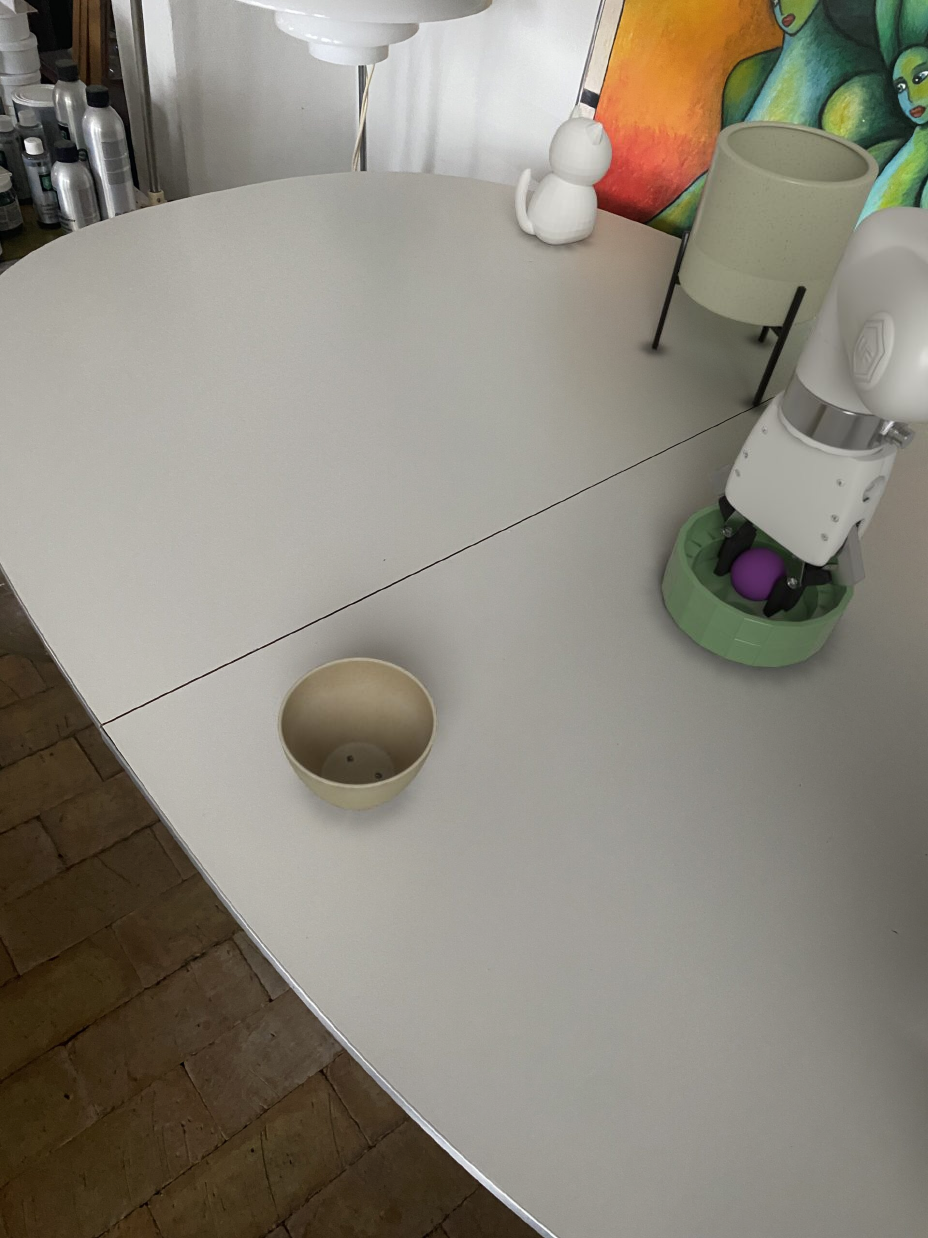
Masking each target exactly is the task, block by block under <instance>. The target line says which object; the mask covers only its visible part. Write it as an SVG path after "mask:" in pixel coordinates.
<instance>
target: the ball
mask: <svg viewBox="0 0 928 1238" xmlns="http://www.w3.org/2000/svg"><path fill="white" fill-rule="evenodd" d="M786 575H787V571H786V566H785V564H784V562H783V560H782V559H781V557H780V556H779V555H778V554H776V553H775V552H773V551H771V550H769V549H766V548H752V549H749V550H746V551H744V552H743V553H741V554H740V555H739V556H738V557H737V558H736V559H735V561H734V562H733V564H732V567H731V571H730V579H731V583H732V585H733V587H734V589H735V591H736V592H737V593H738V594H739V595H740V596H742V597H743V598H745V599H748V600H751V601H765V600H768V599H769V597H770V595H771V593H772V591H773V589H774V587H775V585H776V583H777V582H778V581H779V580H780V579H781V578H783V577H785V576H786Z"/></svg>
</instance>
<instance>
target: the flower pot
mask: <svg viewBox="0 0 928 1238" xmlns="http://www.w3.org/2000/svg"><path fill="white" fill-rule="evenodd" d="M437 730H438V713H437V708H436V704H435V701H434V699H433V697H432V695H431V694H430V692H429V690H428V689H427V687H426V686H425V685H424V684H423V683H422V681H421V680H420V679H419V678H417V676H416V675H414V674H413V673H411V672H410V671H408V670H407V669H405V668H404V667H402V666H400V665H398V664H395V663H393V662H390V661H387V660H384V659H381V658H375V657H368V656H367V657H366V656H353V657H345V658H339V659H334V660H331V661H329V662H325V663H323V664H320V665H318V666H315V667H314V668H312V669H311V670H308V672H306V673H305V674H303V675H302V676H300V678H298V679H297V680H296V681H295V682H294V683H293V685H292V686H290V688H289V689H288V691H287V693H286V694H285V696H284V697H283V699H282V701H281V704H280V707H279V710H278V715H277V732H278V733H277V734H278V738H279V741H280V744H281V748H282V750H283V752H284V755H285V757H286V759H287V762H288V763H289V764H290V766H291V768H292V770H293V771H294V772H295V775H296V776H297V777H298V778H299V779H300V781H301V782H302V783H303V784H304V785H305V787H306V788H307V789H308V790H309V791H311V792H312V793H313V794H315V796H317V797H319V798H320V799H321V800H323V801H325V802H326V803H328V804H330V805H332V806H335V807H337V808H339V809H340V808H341V809H345V810H350V811H364V810H365V811H366V810H371V809H373V808H377V807H379V806H381V805H384V804H386V803H387V802H389V801H391V800H393V799H394V798H395V797H397V796H398V795H400V793H401V792H403V791H404V790H405V789H406V788H408V786H409V785H410V784H411V783H412V781H413V780H414V779H415V778H416V777H417V775H418V774H419V773H420V771H421V769H422V768H423V766H424V764H425V763H426V762H427V759H428V757H429V755H430V753H431V750H432V748H433V745H434V742H435V739H436V736H437Z"/></svg>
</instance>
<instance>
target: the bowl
mask: <svg viewBox="0 0 928 1238" xmlns="http://www.w3.org/2000/svg"><path fill="white" fill-rule="evenodd" d="M724 523H725V522H724V519H723V516H722V513H721V510H720V507H719V504H718V503H715V504H711V505H708V506H706V507H704V508H702V509H700V510H699V511H696V512H694V513H692V514H691V515H690V517H689V518H688V519H687V520H686V521H685V522H684V523H683V525H682V526H681V527H680V529H679V531H678V533H677V537H676V539H675V542H674V545H673V547H672V550H671V553H670V555H669V559H668V561H667V564H666V566H665V569H664V573H663V577H662V582H661V591H662V596H663V599H664V600H663V601H664V605H665V607H666V609H667V611H668V613H669V615H670V616H671V618H672V619H673V621H674V622H675V623H676V625H677V626H678V628H680V629H681V630H682V631H683V632H684V633H685V634H686V635H687V636H688V637H690V639H692V640H693V642H695V643H696V644H698V645H699V646H701V647H703V648H704V649H706V650H708V651H710V652H712V653H713V654H715V655H717V656H718V657H720V658H723V659H725V660H729V661H732V662H736V663H739V664H743V665H747V666H750V667H767V668H782V667H786V666H790V665H794V664H798V663H802V662H804V661H806V660H808V659H809V658H810V657H812V656H814V654H817V652H819V651H821V650H822V648H823V647H824V644H825V643H826V642H827V640H828V638H829V636H830V635H831V634H832V632H833V631H834V629H835V627H836V625H837V624H838V622H839V621H840V619H841V617H842V616H843V614H844V612H845V611H846V609H847V608H848V606H849V604H850V603H851V600H852V599H853V597H854V595H855V585H854V586H839V585H833V584H826V585H819V586H807V587H806V589H805V590H804V592H803V594H802V596H801V598H800V599H799V601H798V603H797V604H796V605H795V606H794V607H793V608H792V609H791V610H789V611H788V612H785V611H783V610H781V611H779V612H778V613H776V614H774V615H773V616H771V617H770V618H768V617H766V616H765V615H764V614H763V608H764V607H765V605H766V603H767V601H768V600H765V601H751V600H748V599H745V598H743V597H742V596H740V595H739V594H738V593H737V592H736V591H735V589H734V587H733V585H732V583H731V579H730V572H729V573H728V574H726V575H724V576H722V577H721V576H719V577H718V576H717V575H716V574H714V573H713V572H714V569H715V567H716V565H717V562H718V560H719V558H718V557H717V554H718V552H719V550H720V547H721V545H722V542H723V540H724V538H725V535H724V534H723V532H722V526H723V524H724ZM753 527H755V528H756V529H757V531H756V534H757V535H756V537H755V540H754V542H753V544H752V546H751V548H750V549H752V548H766V549H769V550H771V551H773V552H775V553H776V554H778V555H779V556H780V557H781V559H782V560H783V562H784V564H785V566H786V571H787V575H788V569H789V564H790V559H791V553H792V552H790V551H789V550H788V549H786V548H785V547H784V546H782V545H781V544H780V543H778V542H777V541H776V540H774V539H773V538H772V537H770V536H769V535H768V534H767V533H765V532H764V531H763V530H761V529H760V528H759V527H757V526H756V525H755V524H754V525H753ZM827 563H836V564H837V565H838V562H837V556H836V553H835V555H834V556H832V557H830V559H829V560H828V562H827Z"/></svg>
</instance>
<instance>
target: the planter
mask: <svg viewBox="0 0 928 1238" xmlns="http://www.w3.org/2000/svg"><path fill="white" fill-rule="evenodd" d="M879 171H880V167H879V164H878V162H877V160H876V159H875V157H874V156H873V155H872V154H871V153H870V152H869V151H867V149H865V148H863V147H862V146H860V145H858V144H856V143H855V142H853V141H851V140H849V139H847V138H845V137H842V136H840V135H838V134H835V133H832V132H830V131H826V130H823V129H820V128H817V127H813V126H808V125H804V124H799V123H794V122H788V121H787V122H786V121H777V120H748V121H740V122H736V123H733V124H730V125H728V126H726V127H724V128H723V129H722V130H721V131H720V132H719V133H718V135H717V137H716V142H715V144H714V148H713V151H712V155H711V159H710V162H709V166H708V169H707V173H706V177H705V180H704V183H703V187H702V191H701V194H700V198H699V201H698V204H697V208H696V212H695V215H694V220H693V222H692V224H691V225H692V226H691V229H690V230H684V231H683V234H682V237H681V241H680V245H679V248H678V251H677V254H676V255H677V256H676V259H675V263H674V266H673V270H672V274H671V277H670V280H669V284H668V289H667V291H666V295H665V298H664V302H663V306H662V309H661V312H660V317H659V320H658V323H657V328H656V331H655V335H654V338H653V342H652V345H651V350H658V347H659V343H660V340H661V338H662V334H663V330H664V326H665V323H666V319H667V316H668V312H669V308H670V305H671V302H672V299H673V295H674V292H675V291H674V290H675V287H676V285H677V286H681V288H682V289H683V291H684V292H685V293H686V294H687V296H688V297H690V298H691V299H692V300H693V301H694V302H696V303H697V304H698V305H700V306H702V307H703V308H705V309H706V310H708V311H710V312H712V313H715V314H716V315H719V316H722V317H724V318H728V319H730V320H733V321H737V322H741V323H744V324H750V325H755V326H762V329H761V332H760V334H759V336H758V339H757V341H758V342H759V343H762V344H763V343H765V342H766V339H767V337H768V334H769V332H770V330H771V331H772V333H774V335H775V336H776V337H777V339H776V341H775V344H774V346H773V349H772V352H771V354H770V357H769V359H768V362H767V364H766V367H765V370H764V371H763V374H762V377H761V380H760V382H759V384H758V387H757V390H756V392H755V394H754V397H753V400H752V402H751V404H752V406H753V407H754V408H755V407H760V405H761V403H762V400H763V399H764V395H765V393H766V391H767V389H768V386H769V383H770V381H771V378H772V376H773V373H774V370H775V368H776V366H777V363H778V361H779V358H780V356H781V353H782V351H783V348H784V346H785V343H786V341H787V339H788V337H789V334H790V332H791V329H792V326H795V325H800V324H803V323H805V322H807V321H810V320H812V319H813V318H814V317H815V316H817V315H818V313H819V310H820V308H821V306H822V303H823V301H824V298H825V296H826V294H827V291H828V289H829V287H830V284H831V282H832V279H833V277H834V275H835V272H836V270H837V267H838V265H839V263H840V260H841V258H842V256H843V253H844V251H845V248H846V246H847V244H848V241H849V239H850V237H851V235H852V233H853V232H854V230H855V229H856V227H857V225H858V222H859V220H860V217H861V215H862V213H863V211H864V208H865V206H866V203H867V201H868V199H869V196H870V194H871V192H872V189H873V188H874V184H875V182H876V180H877V177H878V175H879Z"/></svg>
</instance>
